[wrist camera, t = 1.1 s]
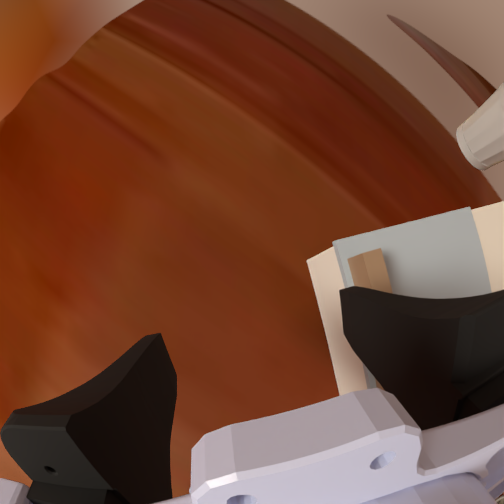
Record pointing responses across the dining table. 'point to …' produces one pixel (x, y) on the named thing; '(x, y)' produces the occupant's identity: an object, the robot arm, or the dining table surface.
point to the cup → (484, 133)
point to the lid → (417, 260)
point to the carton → (330, 282)
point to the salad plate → (500, 500)
